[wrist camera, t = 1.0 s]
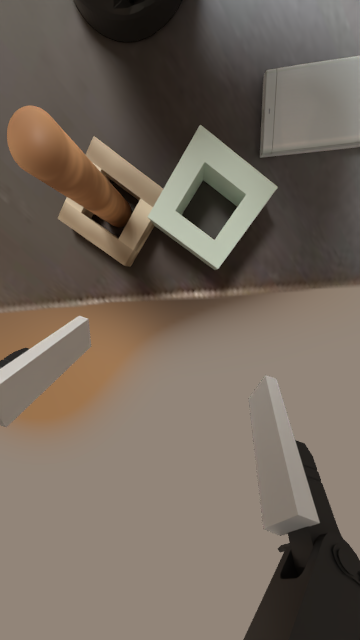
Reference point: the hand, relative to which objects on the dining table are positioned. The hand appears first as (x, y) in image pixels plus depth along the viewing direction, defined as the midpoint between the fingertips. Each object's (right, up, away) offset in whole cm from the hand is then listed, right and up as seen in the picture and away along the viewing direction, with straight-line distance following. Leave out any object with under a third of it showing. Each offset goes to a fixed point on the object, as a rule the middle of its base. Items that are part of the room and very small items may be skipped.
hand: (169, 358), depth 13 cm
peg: (-8, +19, +13) cm, 24 cm away
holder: (-8, +19, +13) cm, 24 cm away
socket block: (+5, +18, +12) cm, 22 cm away
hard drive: (+17, +28, +9) cm, 34 cm away
